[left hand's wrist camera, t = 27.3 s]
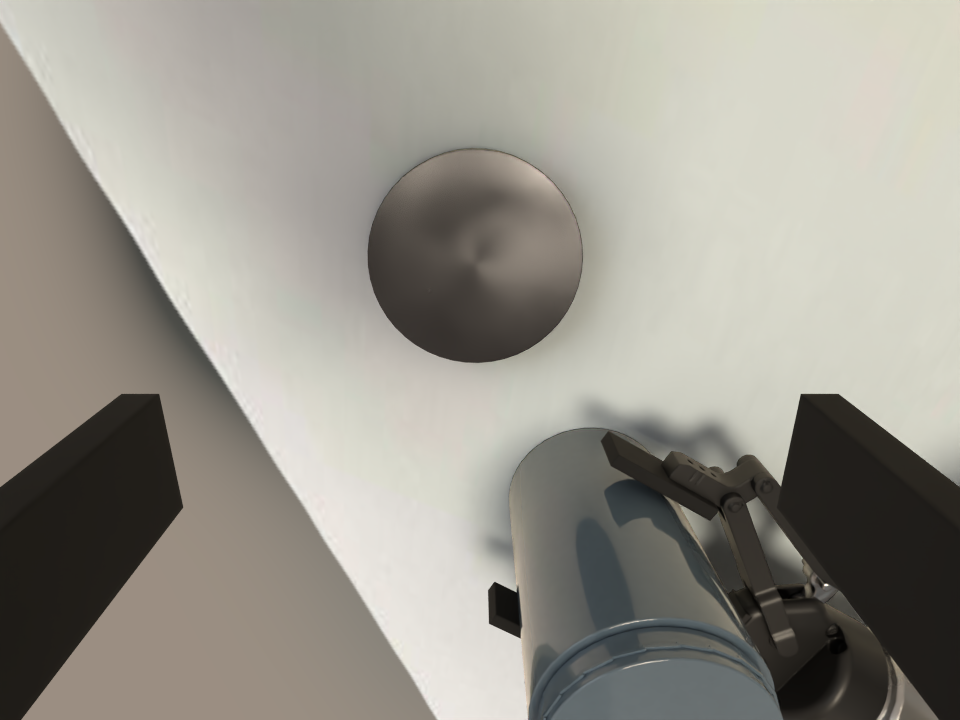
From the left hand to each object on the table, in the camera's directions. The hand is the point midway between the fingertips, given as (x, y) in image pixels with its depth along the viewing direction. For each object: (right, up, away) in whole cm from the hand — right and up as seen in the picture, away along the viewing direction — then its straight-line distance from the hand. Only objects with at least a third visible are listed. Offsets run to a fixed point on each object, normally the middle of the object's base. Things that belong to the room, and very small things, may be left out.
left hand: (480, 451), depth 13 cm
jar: (+7, -7, +28) cm, 30 cm away
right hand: (+4, -8, +21) cm, 23 cm away
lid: (0, +7, +21) cm, 22 cm away
